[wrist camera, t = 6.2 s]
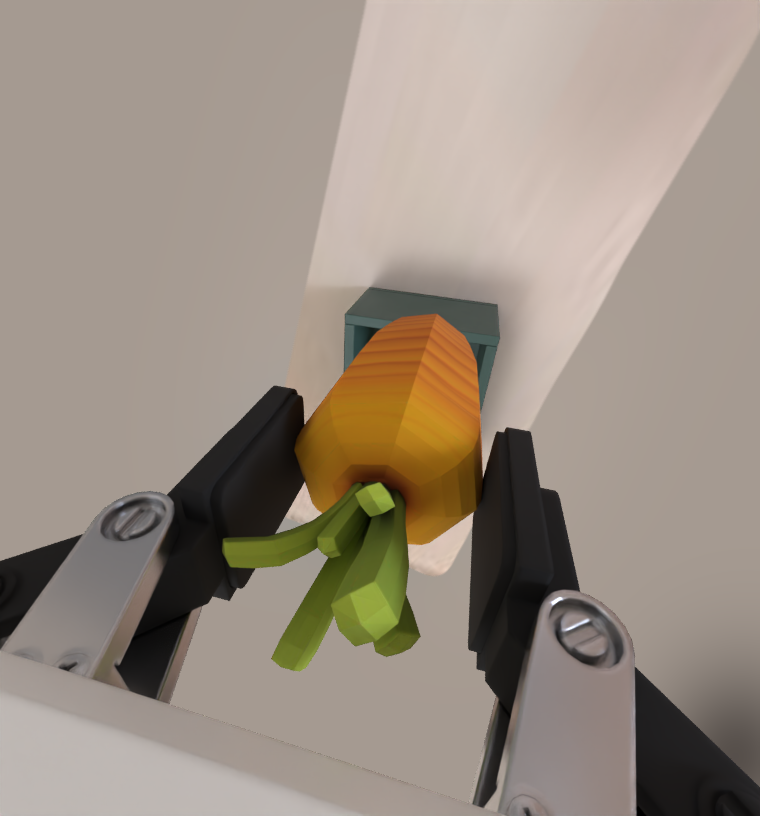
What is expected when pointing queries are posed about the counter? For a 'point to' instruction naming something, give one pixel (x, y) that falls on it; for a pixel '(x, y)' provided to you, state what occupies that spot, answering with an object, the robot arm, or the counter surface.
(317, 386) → the counter surface
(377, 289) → the bin
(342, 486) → the carrot
